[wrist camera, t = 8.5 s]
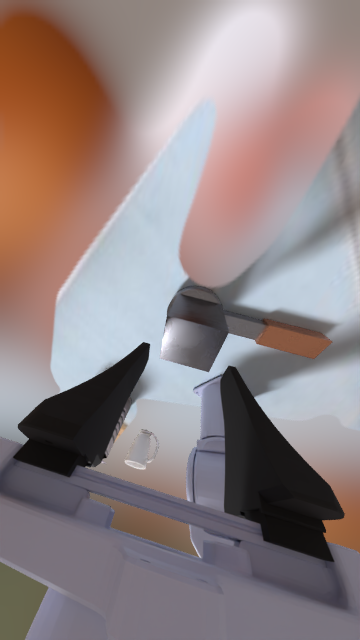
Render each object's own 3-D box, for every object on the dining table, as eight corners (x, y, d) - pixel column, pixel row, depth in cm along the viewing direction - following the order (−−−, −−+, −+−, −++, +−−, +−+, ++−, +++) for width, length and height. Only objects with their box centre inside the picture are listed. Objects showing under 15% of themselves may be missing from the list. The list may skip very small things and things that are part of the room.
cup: (132, 427, 46) (119, 459, 39) (156, 427, 43) (147, 463, 36) (142, 436, 49) (132, 468, 42) (165, 437, 46) (158, 472, 39)
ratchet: (334, 319, 17) (372, 342, 13) (295, 359, 21) (315, 385, 17) (175, 279, 18) (166, 289, 14) (166, 325, 22) (158, 342, 18)
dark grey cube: (221, 304, 16) (229, 331, 11) (207, 337, 19) (208, 372, 14) (178, 293, 16) (167, 315, 11) (171, 328, 19) (159, 358, 14)
